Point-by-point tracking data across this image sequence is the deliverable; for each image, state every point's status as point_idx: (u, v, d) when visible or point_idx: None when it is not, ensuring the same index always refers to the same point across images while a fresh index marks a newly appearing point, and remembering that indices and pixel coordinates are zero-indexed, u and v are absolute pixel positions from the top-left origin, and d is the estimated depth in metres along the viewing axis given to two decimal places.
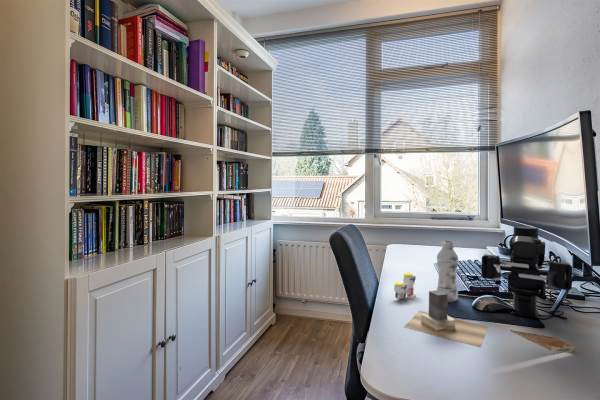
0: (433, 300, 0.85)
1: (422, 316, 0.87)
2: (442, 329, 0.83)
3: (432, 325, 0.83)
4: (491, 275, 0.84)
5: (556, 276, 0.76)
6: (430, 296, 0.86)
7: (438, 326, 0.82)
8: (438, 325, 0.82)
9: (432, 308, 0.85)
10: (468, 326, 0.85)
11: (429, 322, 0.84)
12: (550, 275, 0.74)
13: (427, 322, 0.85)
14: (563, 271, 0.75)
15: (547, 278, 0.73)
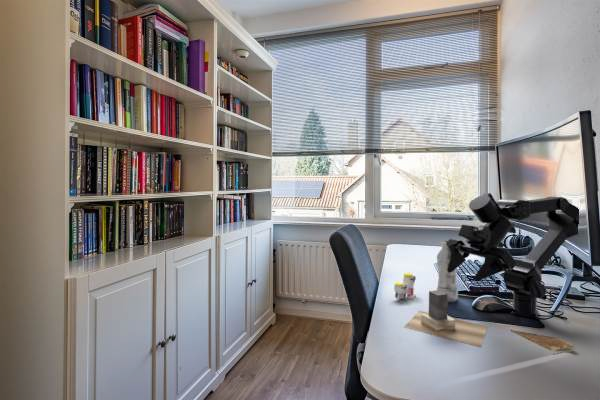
0: (433, 300, 0.85)
1: (422, 316, 0.87)
2: (442, 329, 0.83)
3: (432, 325, 0.83)
4: None
5: (494, 263, 0.83)
6: (430, 296, 0.86)
7: (438, 326, 0.82)
8: (438, 325, 0.82)
9: (432, 308, 0.85)
10: (468, 326, 0.85)
11: (429, 322, 0.84)
12: (480, 271, 0.83)
13: (427, 322, 0.85)
14: (496, 260, 0.81)
15: (475, 277, 0.83)
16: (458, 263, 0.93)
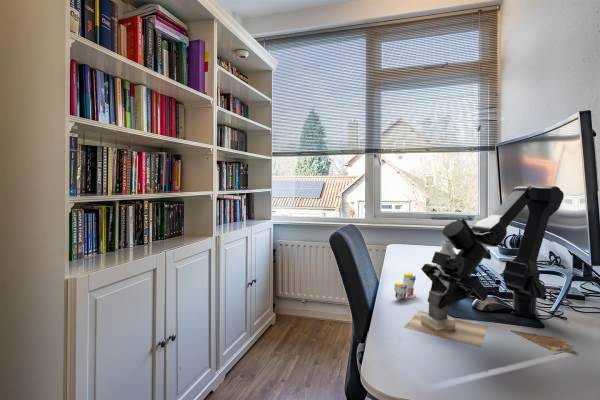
0: (433, 300, 0.85)
1: (422, 316, 0.87)
2: (442, 329, 0.83)
3: (432, 325, 0.83)
4: None
5: (458, 290, 0.83)
6: (430, 296, 0.86)
7: (438, 326, 0.82)
8: (438, 325, 0.82)
9: (432, 308, 0.85)
10: (468, 326, 0.85)
11: (429, 322, 0.84)
12: (444, 298, 0.83)
13: (427, 322, 0.85)
14: (459, 288, 0.81)
15: (439, 303, 0.83)
16: None
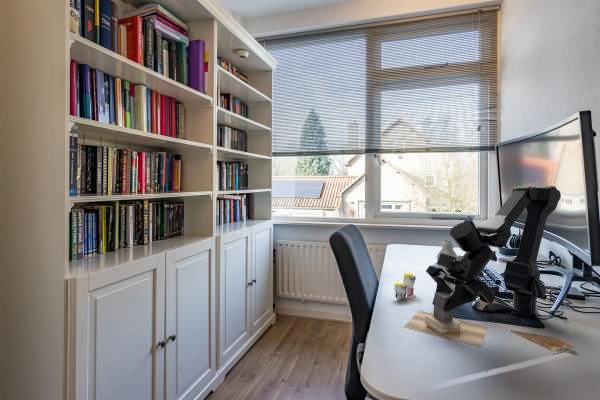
0: (439, 302, 0.83)
1: (426, 317, 0.85)
2: (447, 332, 0.81)
3: (437, 327, 0.82)
4: None
5: (464, 293, 0.81)
6: (436, 298, 0.84)
7: (443, 329, 0.81)
8: (443, 328, 0.81)
9: (437, 310, 0.84)
10: (468, 326, 0.85)
11: (434, 324, 0.83)
12: (450, 301, 0.81)
13: (432, 324, 0.84)
14: (465, 291, 0.79)
15: (444, 306, 0.81)
16: None
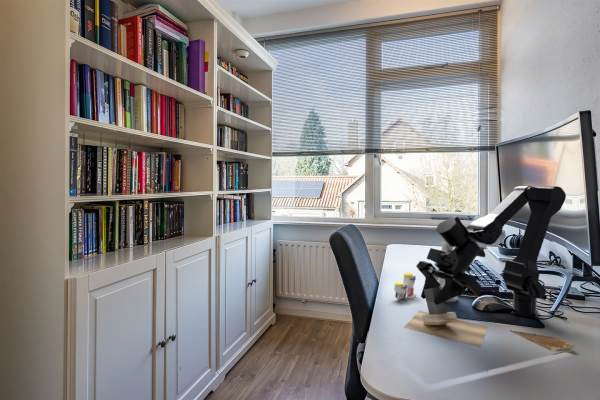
0: (429, 296, 0.87)
1: (423, 316, 0.87)
2: (444, 322, 0.82)
3: (433, 320, 0.83)
4: None
5: (454, 286, 0.84)
6: (425, 293, 0.88)
7: (438, 318, 0.82)
8: (438, 317, 0.82)
9: (430, 305, 0.86)
10: (468, 326, 0.85)
11: (430, 318, 0.84)
12: (440, 294, 0.84)
13: (428, 320, 0.85)
14: (455, 284, 0.82)
15: (435, 300, 0.84)
16: None
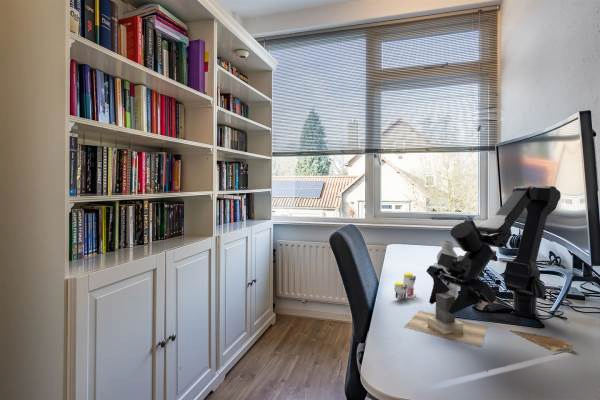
0: (440, 303, 0.83)
1: (429, 319, 0.85)
2: (450, 333, 0.81)
3: (439, 329, 0.81)
4: None
5: (470, 295, 0.79)
6: (437, 299, 0.84)
7: (445, 330, 0.80)
8: (446, 329, 0.80)
9: (439, 311, 0.83)
10: (468, 326, 0.85)
11: (436, 325, 0.82)
12: (455, 303, 0.79)
13: (434, 325, 0.83)
14: (471, 293, 0.78)
15: (450, 309, 0.80)
16: None
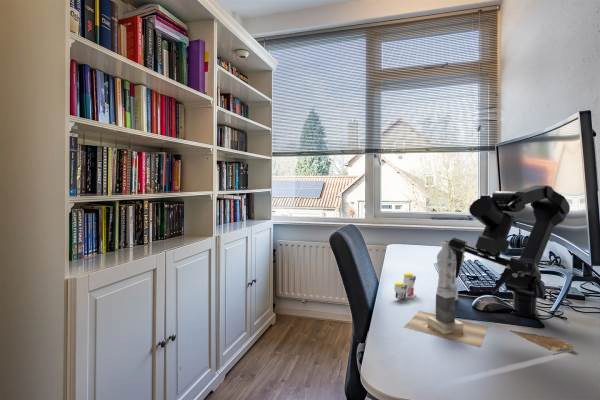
0: (440, 303, 0.83)
1: (429, 319, 0.85)
2: (450, 333, 0.81)
3: (439, 329, 0.81)
4: None
5: None
6: (437, 299, 0.84)
7: (445, 330, 0.80)
8: (446, 329, 0.80)
9: (439, 311, 0.83)
10: (468, 326, 0.85)
11: (436, 325, 0.82)
12: (499, 284, 0.82)
13: (434, 325, 0.83)
14: (516, 274, 0.81)
15: (494, 290, 0.82)
16: (461, 264, 0.90)
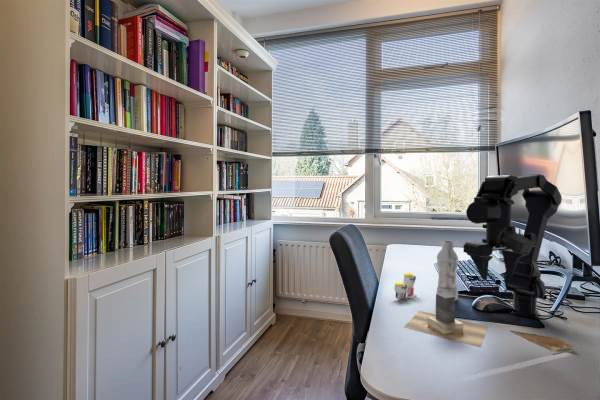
0: (440, 303, 0.83)
1: (429, 319, 0.85)
2: (450, 333, 0.81)
3: (439, 329, 0.81)
4: None
5: None
6: (437, 299, 0.84)
7: (445, 330, 0.80)
8: (446, 329, 0.80)
9: (439, 311, 0.83)
10: (468, 326, 0.85)
11: (436, 325, 0.82)
12: (514, 268, 0.88)
13: (434, 325, 0.83)
14: None
15: (511, 274, 0.88)
16: None
